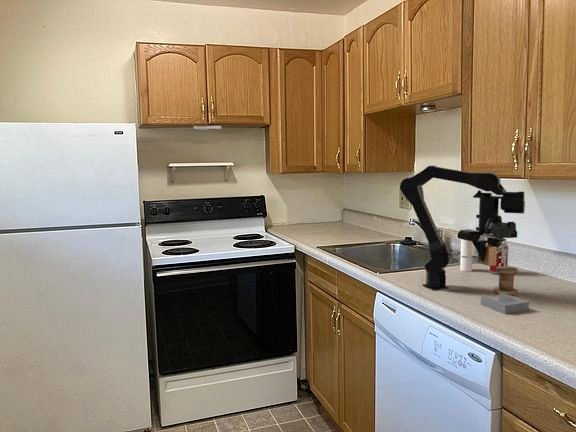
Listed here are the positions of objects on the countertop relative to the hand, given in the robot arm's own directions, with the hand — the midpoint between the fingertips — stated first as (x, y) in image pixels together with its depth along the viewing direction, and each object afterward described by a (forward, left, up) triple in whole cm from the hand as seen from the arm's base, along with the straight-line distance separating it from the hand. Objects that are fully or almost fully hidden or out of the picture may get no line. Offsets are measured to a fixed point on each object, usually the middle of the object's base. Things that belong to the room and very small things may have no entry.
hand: (486, 260), depth 158 cm
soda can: (-20, +24, -11) cm, 33 cm away
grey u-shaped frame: (+13, -5, -11) cm, 18 cm away
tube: (-28, +16, -11) cm, 34 cm away
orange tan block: (0, 0, -1) cm, 1 cm away
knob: (+2, +7, -11) cm, 13 cm away
